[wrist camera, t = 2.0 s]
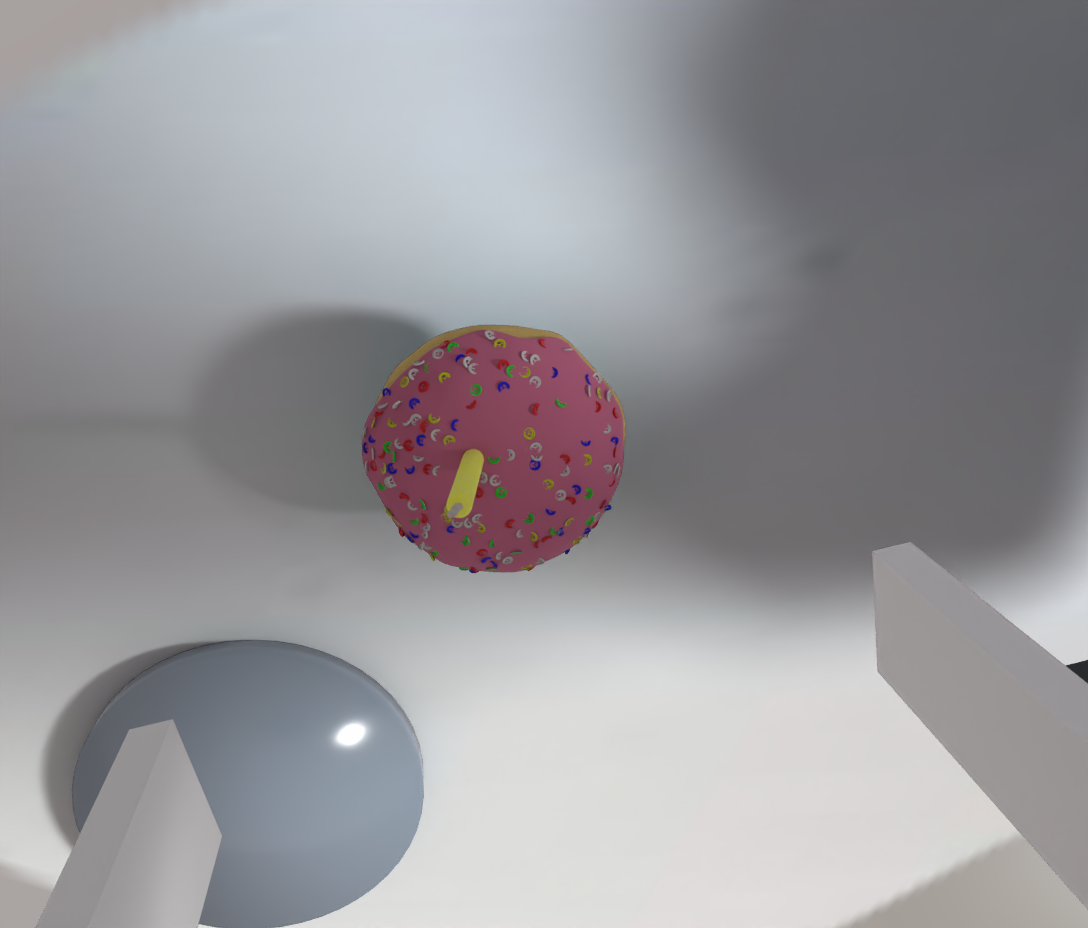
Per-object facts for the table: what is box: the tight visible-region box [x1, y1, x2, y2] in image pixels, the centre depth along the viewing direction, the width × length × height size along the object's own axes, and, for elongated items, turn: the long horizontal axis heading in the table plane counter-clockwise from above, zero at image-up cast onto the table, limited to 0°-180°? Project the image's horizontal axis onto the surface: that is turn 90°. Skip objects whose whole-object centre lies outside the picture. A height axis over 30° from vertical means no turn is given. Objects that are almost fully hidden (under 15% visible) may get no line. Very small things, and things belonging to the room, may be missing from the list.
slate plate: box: [72, 640, 424, 928], centre depth 36 cm, size 14×14×1 cm
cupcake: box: [362, 325, 625, 573], centre depth 27 cm, size 9×8×12 cm
